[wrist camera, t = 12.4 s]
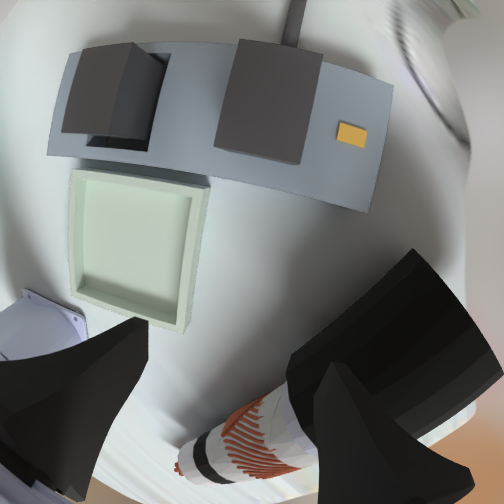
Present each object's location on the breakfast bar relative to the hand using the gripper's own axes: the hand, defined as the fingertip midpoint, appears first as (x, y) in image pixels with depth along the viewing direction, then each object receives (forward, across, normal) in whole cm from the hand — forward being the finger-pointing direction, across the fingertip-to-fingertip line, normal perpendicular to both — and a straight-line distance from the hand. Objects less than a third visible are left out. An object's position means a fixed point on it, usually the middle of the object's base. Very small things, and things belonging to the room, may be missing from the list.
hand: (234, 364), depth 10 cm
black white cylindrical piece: (+10, -5, +12) cm, 16 cm away
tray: (+9, +9, 0) cm, 13 cm away
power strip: (+9, +5, -14) cm, 18 cm away
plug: (+10, +10, -10) cm, 17 cm away
